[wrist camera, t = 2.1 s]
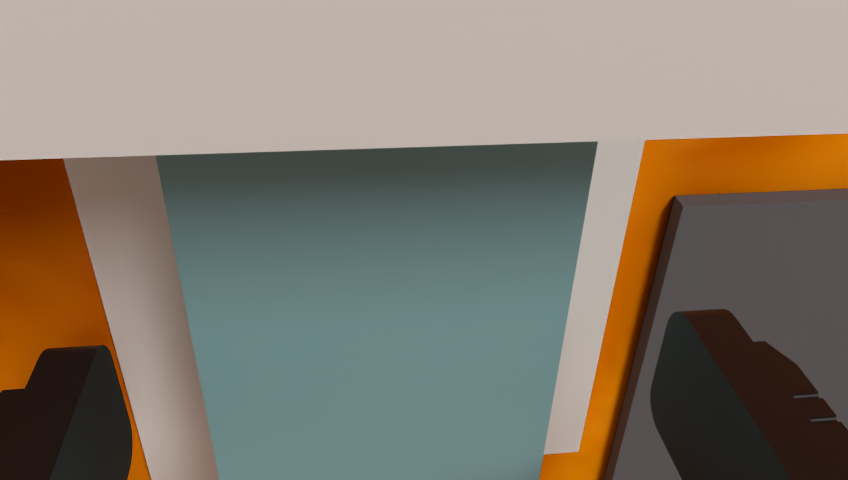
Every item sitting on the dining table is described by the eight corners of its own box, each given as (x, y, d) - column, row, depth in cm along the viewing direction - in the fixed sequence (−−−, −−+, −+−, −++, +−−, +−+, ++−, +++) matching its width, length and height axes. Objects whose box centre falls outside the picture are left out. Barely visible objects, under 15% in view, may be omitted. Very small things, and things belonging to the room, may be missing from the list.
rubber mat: (674, 195, 15) (682, 207, 14) (1043, 180, 16) (1058, 190, 15) (584, 557, 21) (588, 570, 21) (845, 532, 22) (852, 544, 22)
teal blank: (131, -457, 8) (11, -577, 5) (566, -431, 9) (713, -524, 6) (256, 417, 16) (241, 591, 13) (483, 400, 17) (524, 563, 13)
